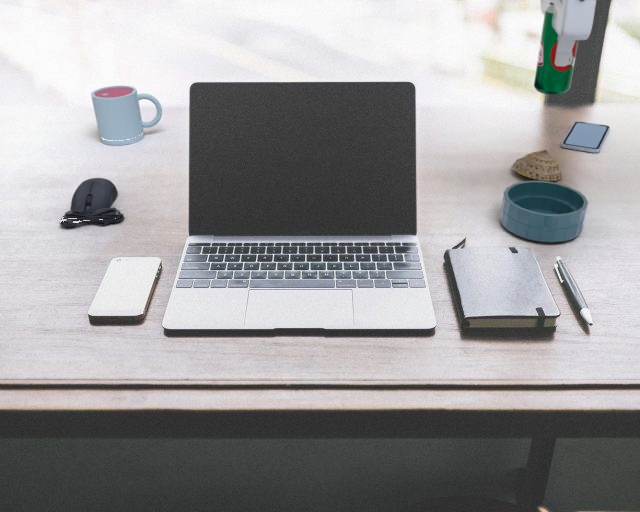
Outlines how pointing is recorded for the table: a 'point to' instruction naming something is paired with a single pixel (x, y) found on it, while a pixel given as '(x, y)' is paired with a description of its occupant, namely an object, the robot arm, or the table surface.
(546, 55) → the soda can
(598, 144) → the smartphone
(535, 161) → the seashell
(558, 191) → the bowl
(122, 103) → the mug
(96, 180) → the computer mouse
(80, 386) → the table surface
